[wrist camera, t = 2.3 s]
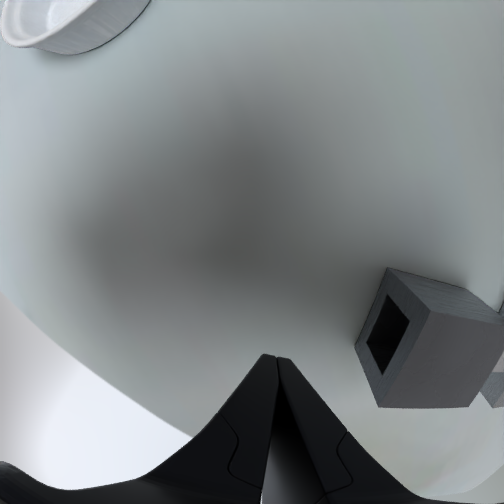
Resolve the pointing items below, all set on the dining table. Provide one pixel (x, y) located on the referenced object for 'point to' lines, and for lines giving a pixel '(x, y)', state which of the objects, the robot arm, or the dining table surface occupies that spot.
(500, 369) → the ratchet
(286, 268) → the dining table surface
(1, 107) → the dining table surface
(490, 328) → the socket
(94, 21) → the ramekin
